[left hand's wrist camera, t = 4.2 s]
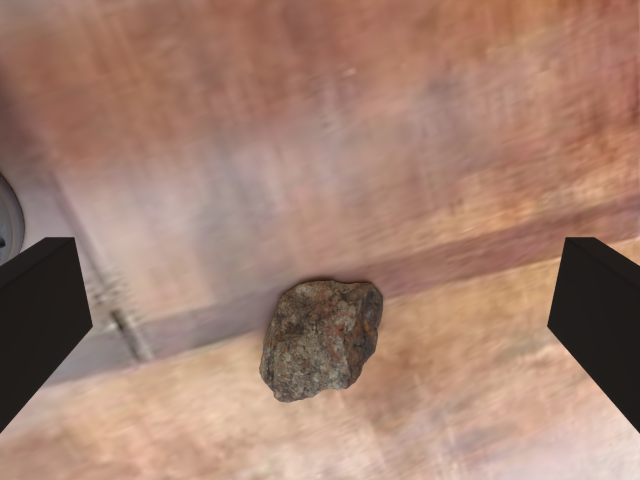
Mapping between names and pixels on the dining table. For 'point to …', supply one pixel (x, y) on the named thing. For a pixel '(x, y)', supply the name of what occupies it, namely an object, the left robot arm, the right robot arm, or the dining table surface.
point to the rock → (320, 338)
